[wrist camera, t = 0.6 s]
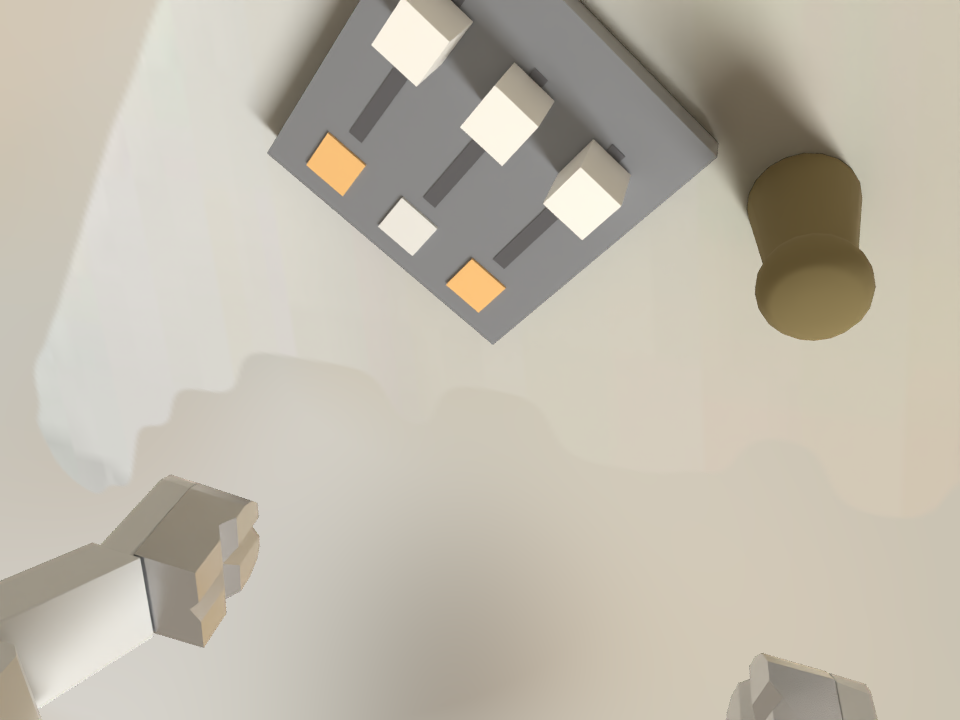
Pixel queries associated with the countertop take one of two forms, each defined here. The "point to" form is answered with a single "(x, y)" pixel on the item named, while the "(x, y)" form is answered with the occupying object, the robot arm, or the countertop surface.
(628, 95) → the switch panel
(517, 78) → the switch middle
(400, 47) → the cream slider knob
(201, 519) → the robot arm
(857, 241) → the cork
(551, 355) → the countertop surface
